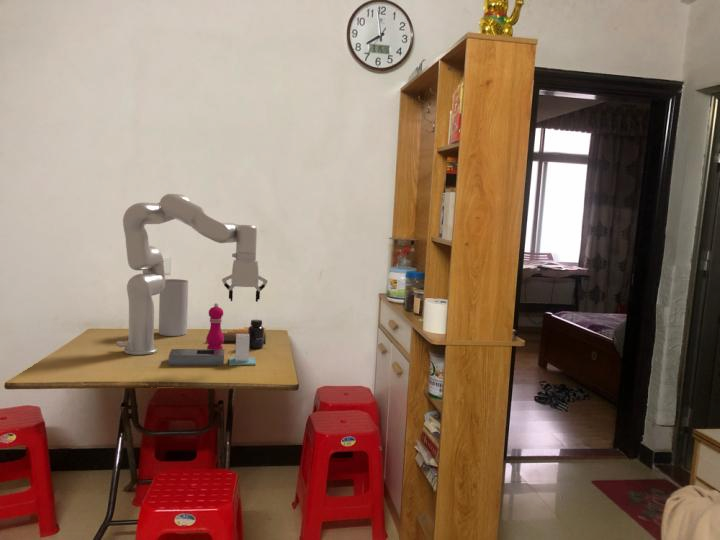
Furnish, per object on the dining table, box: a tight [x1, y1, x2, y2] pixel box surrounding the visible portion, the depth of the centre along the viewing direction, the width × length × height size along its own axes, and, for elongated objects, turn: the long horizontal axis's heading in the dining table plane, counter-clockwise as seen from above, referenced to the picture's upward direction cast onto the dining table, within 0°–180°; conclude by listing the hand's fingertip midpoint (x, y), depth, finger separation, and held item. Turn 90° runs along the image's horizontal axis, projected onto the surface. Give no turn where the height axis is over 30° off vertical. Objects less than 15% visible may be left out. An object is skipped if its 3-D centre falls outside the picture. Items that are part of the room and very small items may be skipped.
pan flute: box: [222, 326, 267, 345], centre depth 270 cm, size 25×3×25 cm
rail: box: [168, 348, 225, 367], centre depth 223 cm, size 20×10×4 cm, turn 102°
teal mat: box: [228, 356, 257, 367], centre depth 227 cm, size 10×10×1 cm
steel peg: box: [234, 334, 250, 362], centre depth 226 cm, size 5×5×10 cm
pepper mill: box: [206, 303, 224, 349], centre depth 243 cm, size 7×7×20 cm
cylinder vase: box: [158, 278, 189, 337], centre depth 269 cm, size 12×12×25 cm
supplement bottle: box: [248, 319, 265, 350], centre depth 252 cm, size 7×7×12 cm
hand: (244, 301), depth 225 cm, fingers open, 9 cm apart
